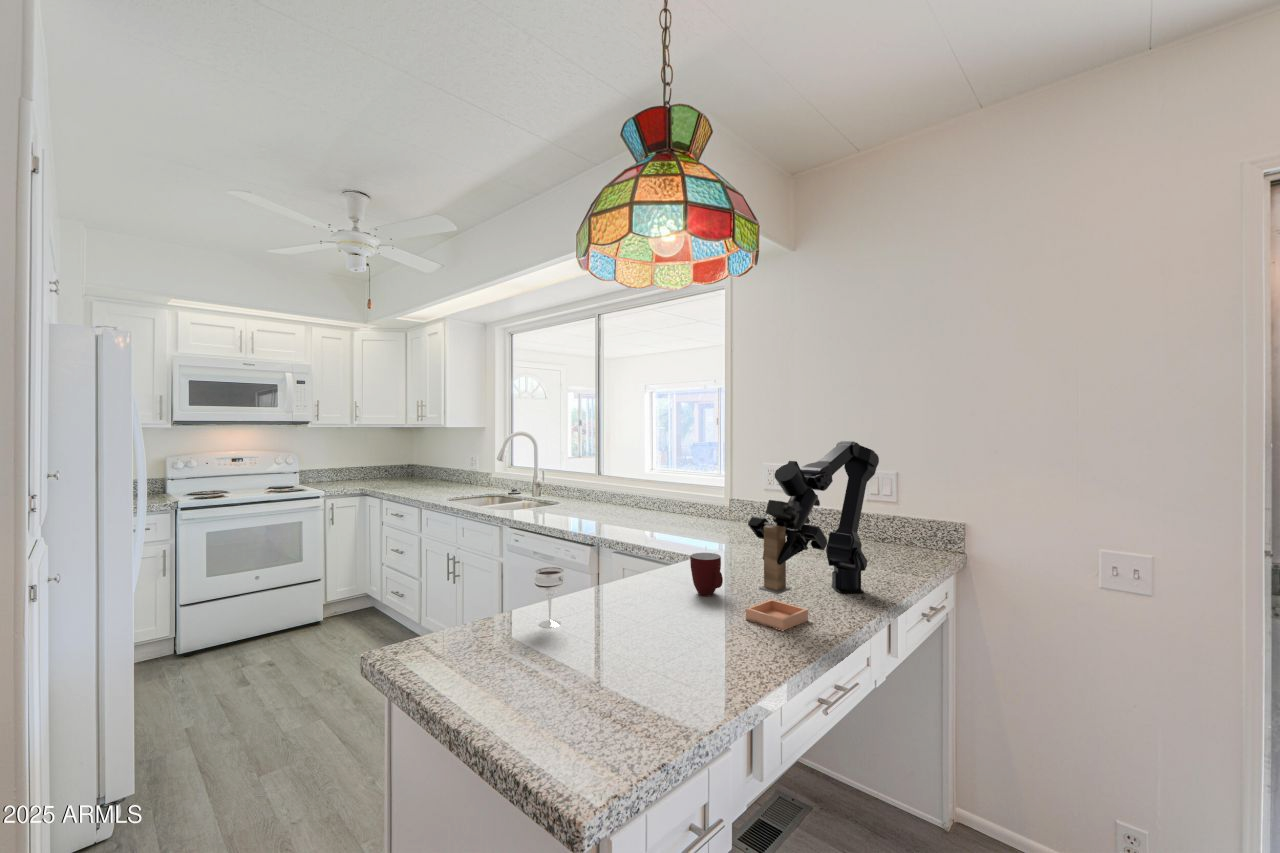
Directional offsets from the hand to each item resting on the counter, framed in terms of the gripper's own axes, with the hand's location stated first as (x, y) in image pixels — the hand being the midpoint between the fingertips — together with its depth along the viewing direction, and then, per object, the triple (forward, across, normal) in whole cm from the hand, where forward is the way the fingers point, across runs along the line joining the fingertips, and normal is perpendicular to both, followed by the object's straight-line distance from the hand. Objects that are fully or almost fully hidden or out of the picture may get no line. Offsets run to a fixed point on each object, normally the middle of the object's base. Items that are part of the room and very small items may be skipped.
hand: (771, 562), depth 125 cm
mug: (+7, -22, +12) cm, 27 cm away
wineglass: (+37, -32, -18) cm, 52 cm away
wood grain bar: (+4, 0, +6) cm, 7 cm away
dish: (+9, 0, +10) cm, 14 cm away
